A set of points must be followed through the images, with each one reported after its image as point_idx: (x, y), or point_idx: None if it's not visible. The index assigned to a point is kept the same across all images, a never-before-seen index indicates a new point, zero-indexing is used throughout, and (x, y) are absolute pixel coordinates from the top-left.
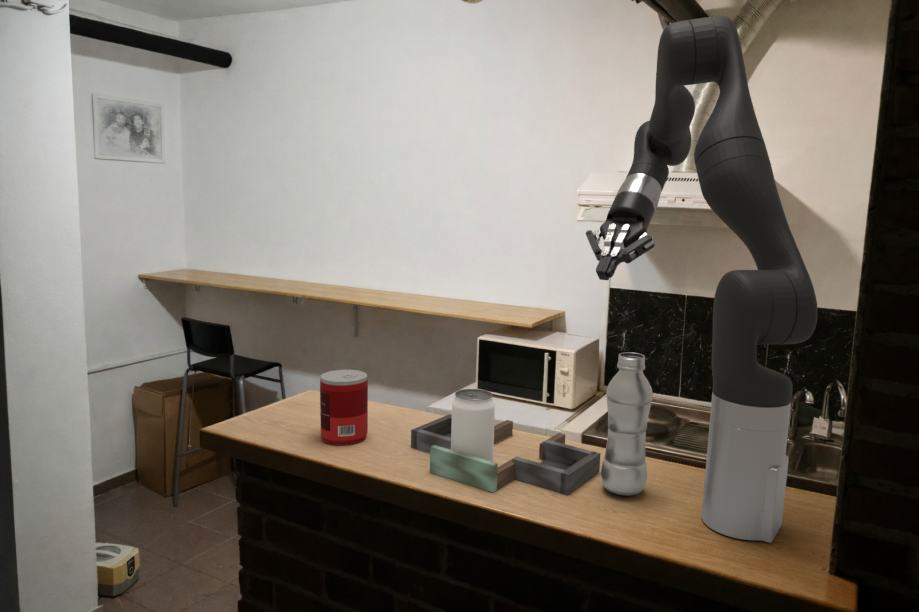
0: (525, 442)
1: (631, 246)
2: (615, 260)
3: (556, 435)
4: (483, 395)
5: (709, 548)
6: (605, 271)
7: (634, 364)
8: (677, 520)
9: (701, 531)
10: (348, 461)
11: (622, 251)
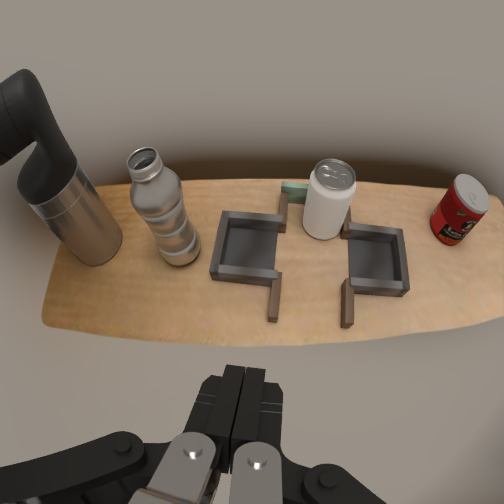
0: (316, 315)
1: (77, 468)
2: (185, 426)
3: (276, 306)
4: (327, 180)
5: (121, 203)
6: (225, 367)
7: (140, 154)
8: (138, 226)
9: (123, 220)
10: (404, 193)
11: (137, 453)
